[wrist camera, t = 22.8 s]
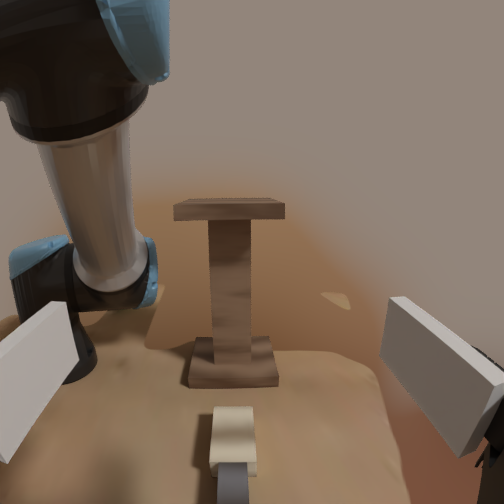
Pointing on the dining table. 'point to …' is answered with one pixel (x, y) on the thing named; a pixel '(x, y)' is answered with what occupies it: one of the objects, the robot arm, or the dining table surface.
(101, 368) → the dining table surface
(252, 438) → the bar
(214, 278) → the stand
